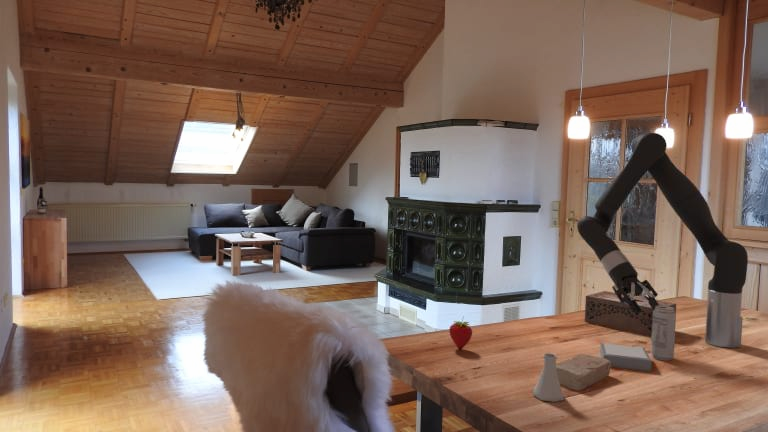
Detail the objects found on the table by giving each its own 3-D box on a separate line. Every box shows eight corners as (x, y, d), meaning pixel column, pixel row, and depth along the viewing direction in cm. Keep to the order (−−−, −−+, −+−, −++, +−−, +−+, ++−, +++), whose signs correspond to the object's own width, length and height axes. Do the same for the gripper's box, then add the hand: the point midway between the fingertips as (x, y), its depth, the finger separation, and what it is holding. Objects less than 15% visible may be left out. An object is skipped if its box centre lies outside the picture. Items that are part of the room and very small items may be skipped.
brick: (579, 392, 130) (580, 373, 130) (548, 382, 136) (549, 364, 136) (611, 377, 141) (612, 360, 141) (581, 368, 148) (582, 351, 147)
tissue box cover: (584, 322, 197) (585, 295, 196) (603, 316, 206) (604, 290, 206) (657, 338, 177) (659, 309, 177) (674, 331, 187) (676, 303, 186)
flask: (528, 390, 130) (529, 350, 129) (557, 390, 131) (558, 350, 130) (539, 403, 123) (541, 360, 122) (569, 402, 123) (571, 360, 123)
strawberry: (457, 344, 166) (458, 312, 166) (476, 350, 160) (477, 317, 160) (444, 347, 162) (445, 315, 162) (463, 354, 157) (464, 320, 156)
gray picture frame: (644, 357, 157) (644, 347, 156) (650, 371, 145) (651, 359, 145) (600, 352, 160) (600, 342, 160) (603, 365, 149) (603, 354, 149)
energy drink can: (678, 360, 155) (681, 309, 154) (660, 361, 153) (663, 310, 152) (663, 353, 161) (665, 304, 160) (645, 355, 159) (648, 305, 158)
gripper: (610, 262, 164) (641, 307, 155) (641, 259, 171) (673, 303, 161) (595, 276, 169) (624, 320, 160) (626, 273, 176) (656, 316, 166)
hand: (649, 311), depth 161 cm, fingers open, 8 cm apart
